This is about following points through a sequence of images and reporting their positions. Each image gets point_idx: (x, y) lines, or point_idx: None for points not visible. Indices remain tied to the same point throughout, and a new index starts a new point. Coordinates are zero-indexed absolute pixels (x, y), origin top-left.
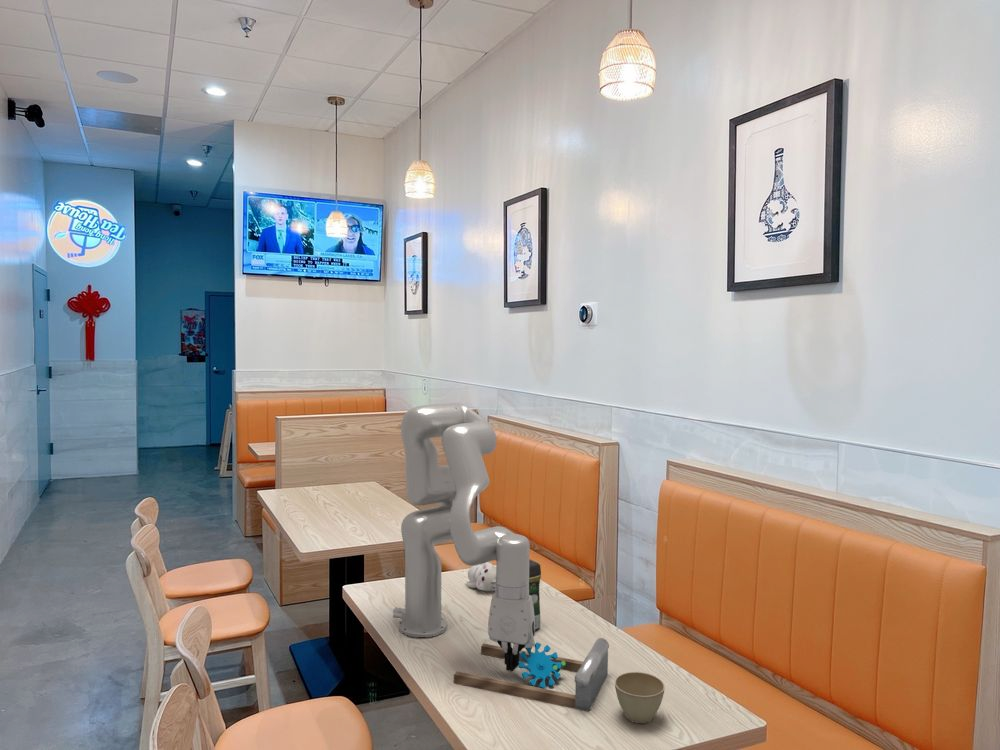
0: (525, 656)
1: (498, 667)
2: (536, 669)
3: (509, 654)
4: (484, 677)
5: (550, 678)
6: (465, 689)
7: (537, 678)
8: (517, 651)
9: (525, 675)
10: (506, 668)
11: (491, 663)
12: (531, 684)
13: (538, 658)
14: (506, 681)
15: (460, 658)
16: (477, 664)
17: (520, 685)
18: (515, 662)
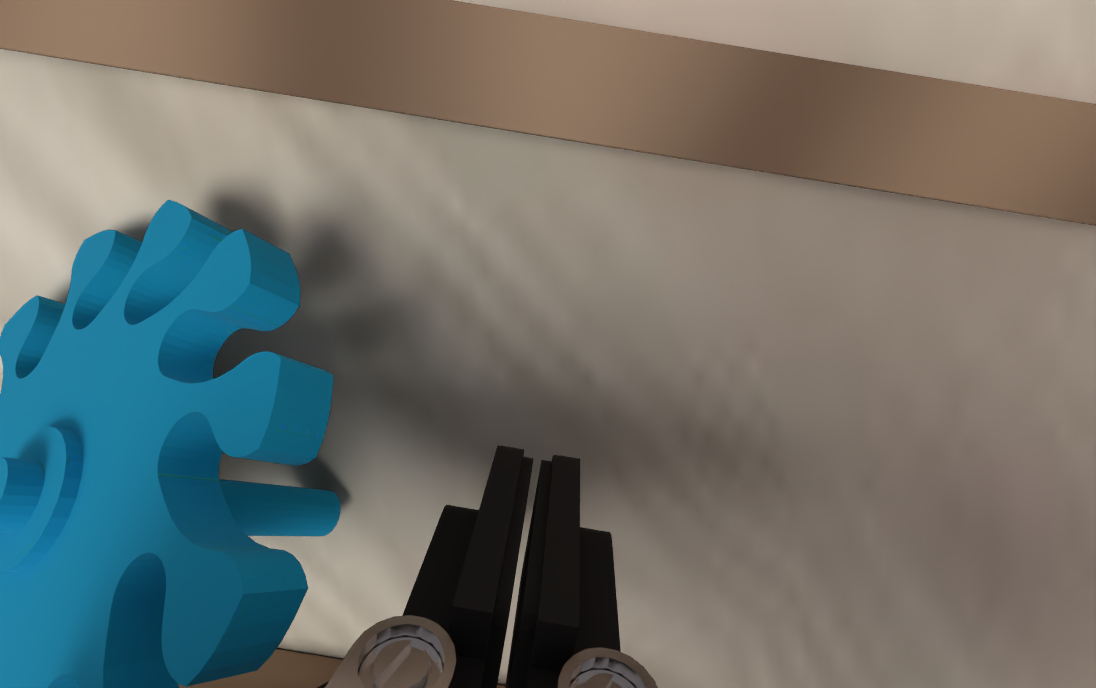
0: (174, 571)
1: (688, 573)
2: (98, 406)
3: (519, 623)
4: (847, 165)
5: (12, 360)
6: (1052, 14)
7: (117, 298)
8: (333, 677)
9: (224, 259)
10: (573, 468)
11: (766, 626)
12: (196, 212)
13: (32, 590)
14: (493, 123)
15: (1085, 663)
16: (906, 591)
17: (259, 48)
18: (448, 537)
